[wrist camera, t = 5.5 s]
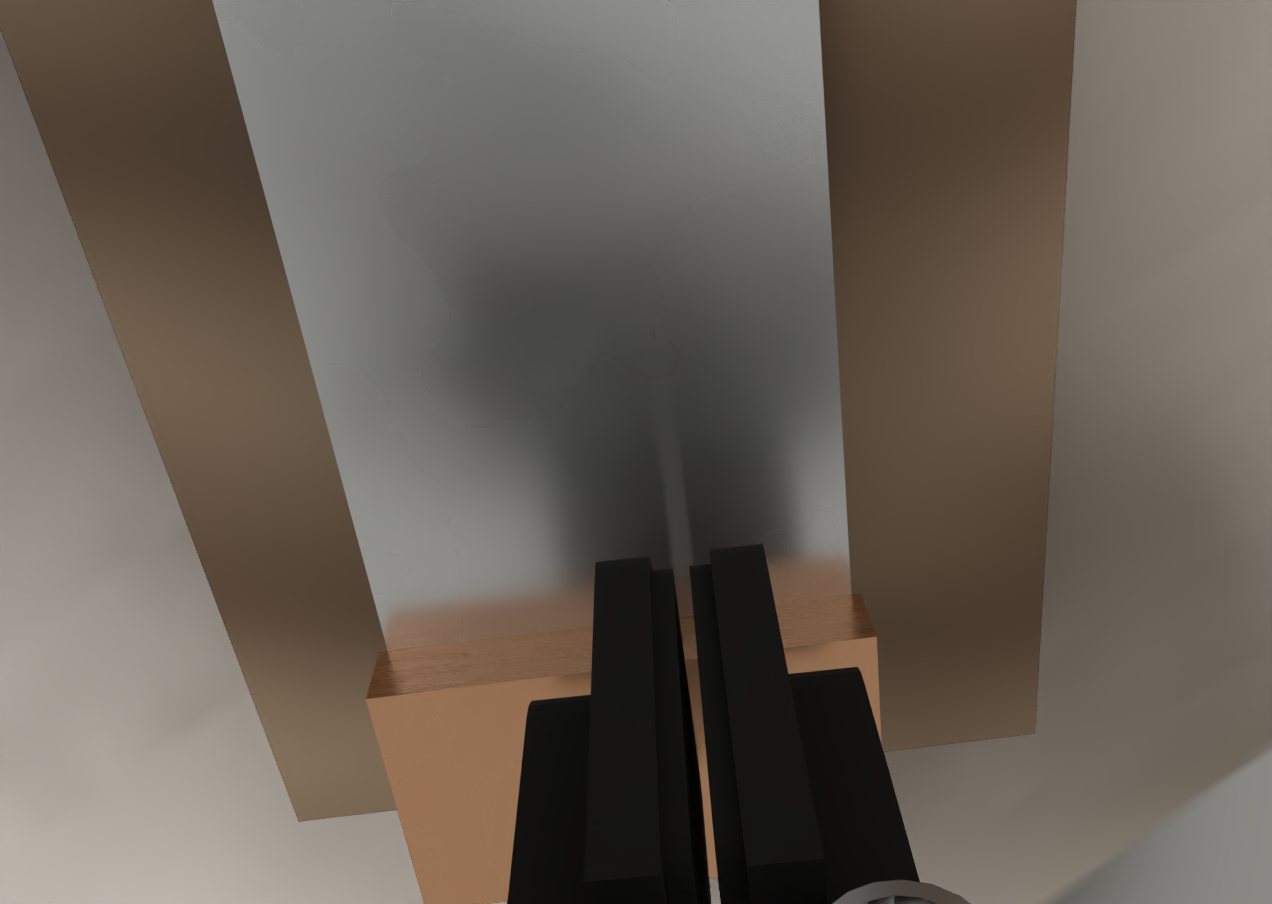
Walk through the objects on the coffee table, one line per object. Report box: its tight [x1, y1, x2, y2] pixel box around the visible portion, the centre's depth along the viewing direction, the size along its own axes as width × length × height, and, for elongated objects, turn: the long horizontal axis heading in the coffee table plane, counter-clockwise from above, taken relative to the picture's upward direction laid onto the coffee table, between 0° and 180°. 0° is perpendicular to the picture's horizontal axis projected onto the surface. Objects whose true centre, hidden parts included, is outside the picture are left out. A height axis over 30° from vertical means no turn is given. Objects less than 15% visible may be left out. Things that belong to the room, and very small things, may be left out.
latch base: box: [0, 0, 1077, 822], centre depth 13 cm, size 22×12×6 cm, turn 7°
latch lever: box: [212, 0, 882, 904], centre depth 11 cm, size 17×5×2 cm, turn 7°
